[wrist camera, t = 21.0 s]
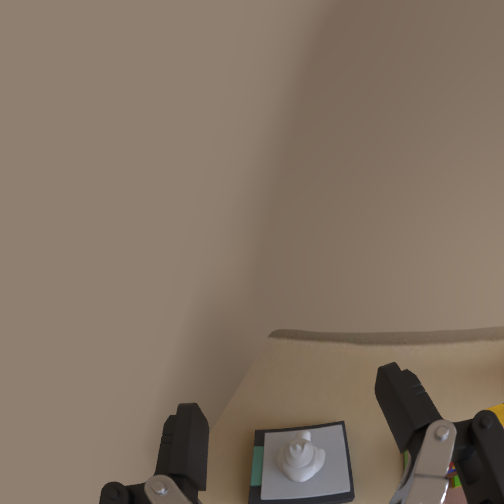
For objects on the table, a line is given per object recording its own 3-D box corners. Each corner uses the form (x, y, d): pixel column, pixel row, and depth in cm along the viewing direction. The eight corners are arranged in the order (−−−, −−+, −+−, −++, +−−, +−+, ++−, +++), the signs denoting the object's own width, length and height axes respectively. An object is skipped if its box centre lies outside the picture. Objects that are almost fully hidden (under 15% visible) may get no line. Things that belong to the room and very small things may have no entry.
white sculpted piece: (274, 484, 22) (263, 463, 19) (283, 441, 28) (275, 409, 25) (321, 486, 20) (322, 465, 18) (326, 441, 26) (327, 409, 23)
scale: (252, 509, 21) (246, 505, 20) (258, 437, 32) (254, 427, 31) (352, 501, 19) (355, 496, 18) (343, 428, 30) (344, 417, 29)
